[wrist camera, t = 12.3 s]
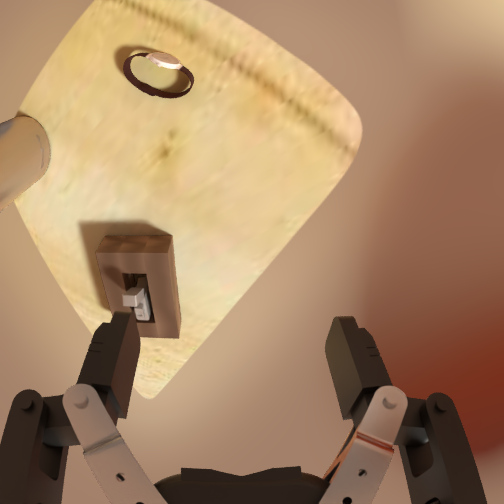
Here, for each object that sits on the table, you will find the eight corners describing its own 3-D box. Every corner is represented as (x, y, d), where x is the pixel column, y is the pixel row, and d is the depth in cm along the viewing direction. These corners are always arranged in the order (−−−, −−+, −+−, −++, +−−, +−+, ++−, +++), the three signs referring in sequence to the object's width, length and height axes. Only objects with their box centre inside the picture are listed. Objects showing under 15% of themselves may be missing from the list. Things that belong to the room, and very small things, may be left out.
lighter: (154, 299, 46) (144, 340, 39) (142, 299, 45) (132, 339, 39) (147, 259, 42) (134, 299, 35) (135, 259, 42) (120, 298, 35)
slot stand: (124, 317, 47) (118, 335, 44) (105, 235, 39) (95, 252, 36) (181, 319, 48) (179, 338, 45) (172, 235, 40) (167, 253, 37)
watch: (203, 67, 30) (200, 68, 27) (183, 106, 32) (179, 110, 29) (138, 43, 27) (129, 41, 24) (121, 82, 29) (110, 84, 26)
